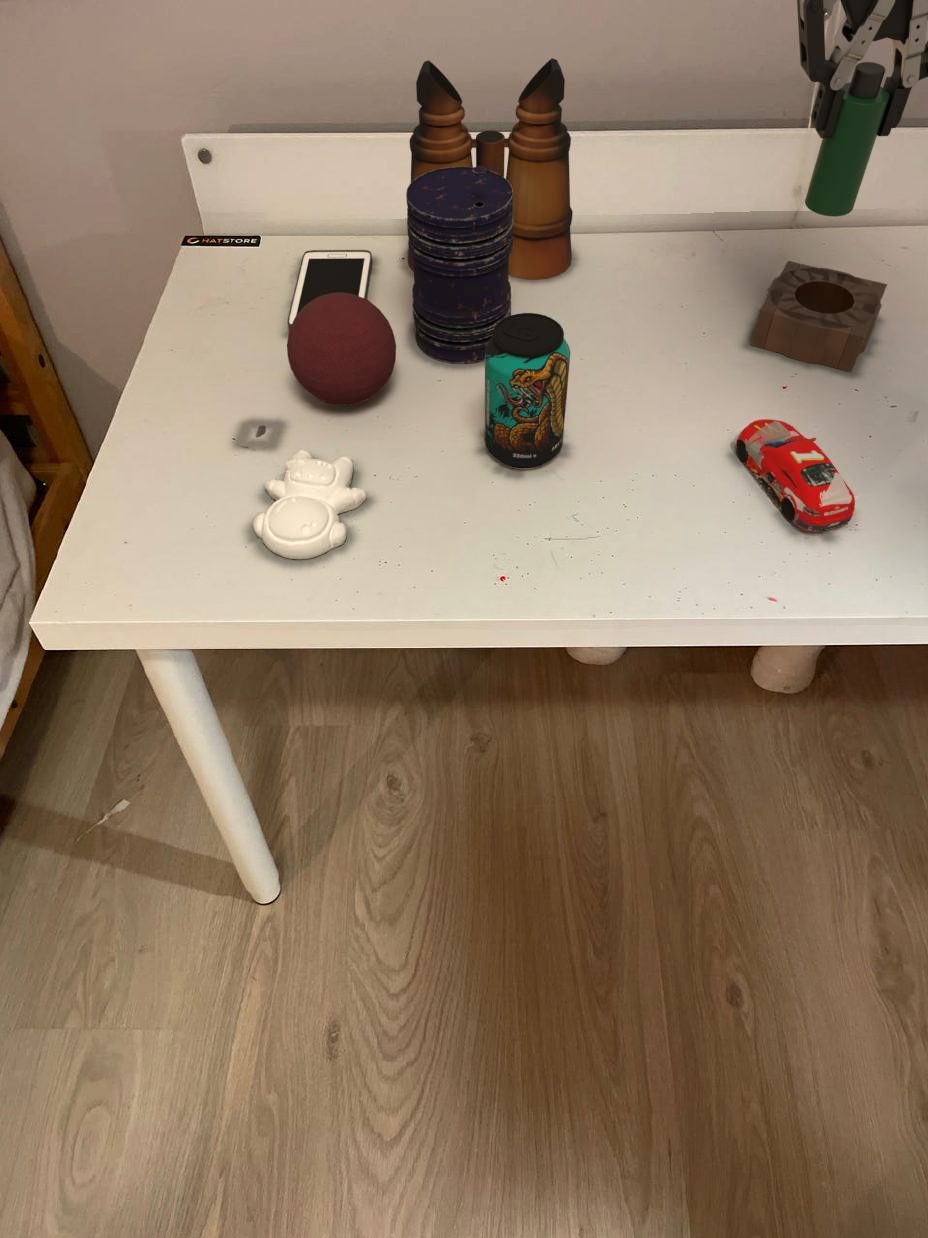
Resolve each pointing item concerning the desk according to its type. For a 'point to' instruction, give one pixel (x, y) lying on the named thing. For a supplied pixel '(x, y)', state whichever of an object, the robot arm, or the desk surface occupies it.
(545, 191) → the binoculars
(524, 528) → the desk surface
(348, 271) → the cell phone
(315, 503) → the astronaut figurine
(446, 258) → the dark blue cylinder
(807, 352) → the ashtray
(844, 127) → the bottle
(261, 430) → the dark square tile
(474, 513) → the desk surface
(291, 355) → the decorative ball
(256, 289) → the desk surface
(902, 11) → the robot arm
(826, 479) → the race car
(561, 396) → the beverage can
